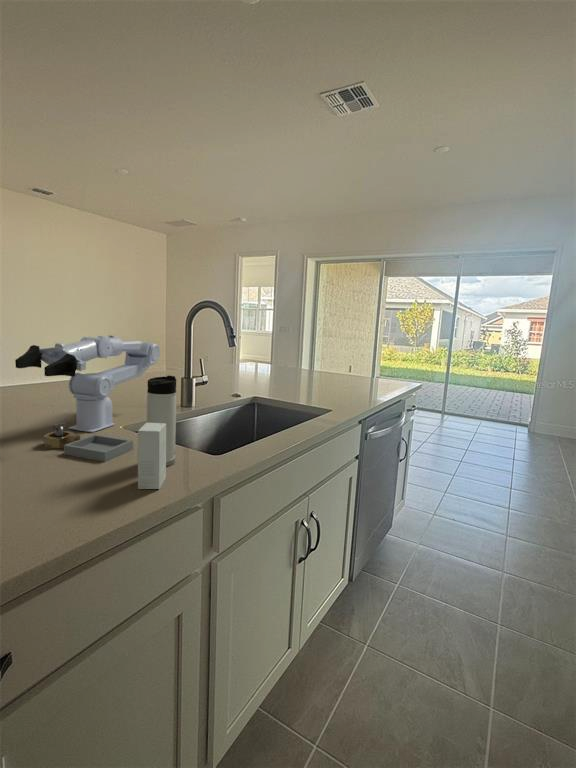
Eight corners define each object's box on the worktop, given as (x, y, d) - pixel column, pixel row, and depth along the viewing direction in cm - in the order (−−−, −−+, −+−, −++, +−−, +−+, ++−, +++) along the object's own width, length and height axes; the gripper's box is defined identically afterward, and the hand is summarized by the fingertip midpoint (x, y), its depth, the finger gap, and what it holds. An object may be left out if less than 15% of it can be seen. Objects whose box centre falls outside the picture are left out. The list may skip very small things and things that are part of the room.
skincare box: (145, 477, 82) (145, 422, 80) (166, 478, 83) (167, 422, 81) (136, 490, 76) (137, 430, 74) (159, 490, 77) (160, 431, 75)
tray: (95, 442, 102) (95, 434, 101) (133, 448, 99) (133, 440, 99) (64, 454, 92) (63, 445, 92) (105, 461, 89) (104, 452, 89)
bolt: (61, 442, 100) (61, 422, 100) (67, 443, 100) (67, 422, 99) (51, 445, 97) (50, 424, 96) (57, 446, 97) (56, 425, 96)
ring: (59, 439, 102) (59, 428, 102) (87, 443, 100) (87, 432, 100) (38, 446, 96) (37, 434, 96) (66, 451, 94) (66, 439, 94)
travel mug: (181, 460, 93) (183, 377, 90) (161, 469, 87) (163, 380, 84) (161, 455, 96) (162, 374, 92) (140, 463, 90) (141, 376, 86)
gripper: (48, 333, 104) (3, 344, 91) (97, 346, 102) (58, 359, 89) (48, 359, 106) (4, 372, 93) (97, 372, 104) (58, 387, 92)
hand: (31, 367), depth 91 cm, fingers open, 7 cm apart
